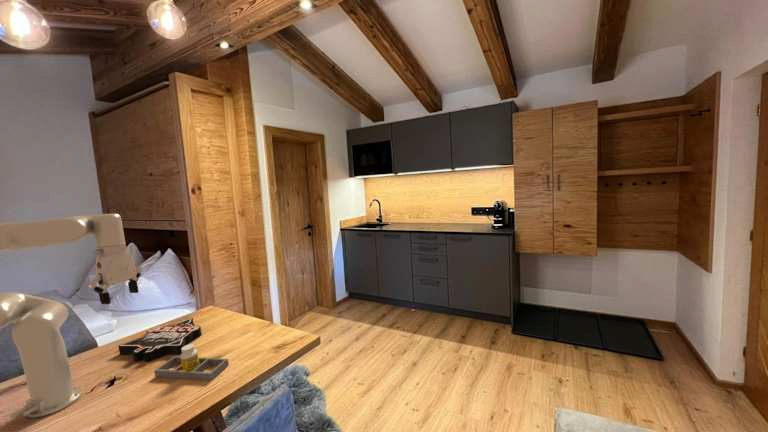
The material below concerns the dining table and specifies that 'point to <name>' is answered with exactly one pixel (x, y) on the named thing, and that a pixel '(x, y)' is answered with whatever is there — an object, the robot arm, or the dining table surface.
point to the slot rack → (194, 374)
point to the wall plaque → (161, 341)
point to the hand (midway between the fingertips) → (120, 297)
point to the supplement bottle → (189, 357)
